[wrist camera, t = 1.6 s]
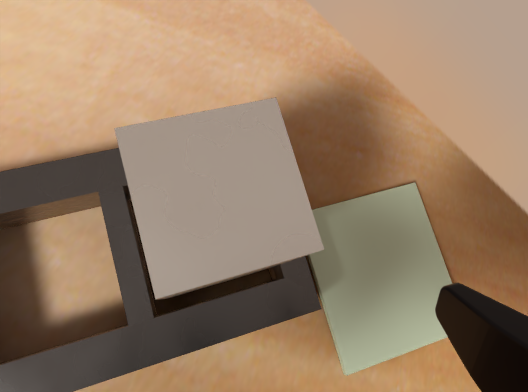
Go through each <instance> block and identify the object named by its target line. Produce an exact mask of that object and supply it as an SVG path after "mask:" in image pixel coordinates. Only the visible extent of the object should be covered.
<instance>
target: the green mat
mask: <svg viewBox="0 0 528 392" xmlns="http://www.w3.org/2000/svg"><path fill="white" fill-rule="evenodd" d="M312 212H313V215H314V218H315V222H316V225H317V228H318V231H319V234H320V237H321V241H322V244H323V247H324V250H321V251H319V252H316V253H313V254H310V255H307V256H308V260H309V263H310V266H311V269H312V273H313V276H314V279H315V282H316V286H317V289H318V292H319V295H320V299H321V302H322V305H323V308H324V311H325V315H326V318H327V321H328V324H329V328H330V331H331V334H332V337H333V341H334V344H335V347H336V350H337V354H338V357H339V360H340V363H341V366H342V370H343V373H344V374H345V375H350V374H352V373H355V372H358V371H360V370H363V369H366V368H368V367H371V366H373V365H376V364H379V363H381V362H384V361H386V360H389V359H392V358H394V357H397V356H399V355H402V354H405V353H407V352H410V351H413V350H415V349H418V348H420V347H423V346H426V345H428V344H431V343H433V342H436V341H439V340H441V339H444V338H447V337H448V336H447V335H446V333H445V331H444V329H443V328H442V326H441V324H440V322H439V321H438V319H437V316H436V313H435V307H436V303H437V300H438V296H439V293H440V290H441V288H442V287H443V286H446V285H449V284H452V281H451V279H450V276H449V273H448V270H447V268H446V265H445V262H444V260H443V257H442V254H441V251H440V249H439V246H438V243H437V240H436V238H435V235H434V232H433V229H432V227H431V224H430V221H429V219H428V216H427V213H426V210H425V208H424V205H423V202H422V199H421V197H420V194H419V191H418V189H417V186H416V183H415V182H414V183H411V184H407V185H403V186H400V187H396V188H392V189H388V190H385V191H381V192H377V193H373V194H370V195H366V196H362V197H358V198H355V199H351V200H347V201H343V202H340V203H336V204H332V205H328V206H325V207H321V208H317V209H313V210H312Z"/></svg>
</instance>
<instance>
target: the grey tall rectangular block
mask: <svg viewBox="0 0 528 392" xmlns="http://www.w3.org/2000/svg"><path fill="white" fill-rule="evenodd" d="M114 129H115V133H116V137H117V141H118V146H119V150H120V154H121V158H122V162H123V166H124V171H125V175H126V179H127V183H128V187H129V191H130V195H131V200H132V204H133V208H134V212H135V216H136V220H137V225H138V229H139V233H140V237H141V241H142V245H143V250H144V254H145V258H146V262H147V266H148V270H149V275H150V279H151V283H152V287H153V291H154V295H155V299H168V298H171V297H175V296H178V295H181V294H185V293H188V292H191V291H195V290H198V289H201V288H205V287H208V286H212V285H215V284H218V283H222V282H225V281H228V280H232V279H235V278H239V277H242V276H245V275H249V274H252V273H255V272H259V271H262V270H265V269H268V268H271V267H274V266H277V265H280V264H283V263H286V262H289V261H292V260H295V259H298V258H301V257H304V256H307V255H310V254H313V253H316V252H319V251H321V250H324V247H323V244H322V241H321V237H320V234H319V231H318V228H317V225H316V222H315V218H314V215H313V212H312V209H311V206H310V203H309V200H308V196H307V193H306V190H305V187H304V184H303V181H302V178H301V174H300V171H299V168H298V165H297V162H296V159H295V155H294V152H293V149H292V146H291V143H290V140H289V137H288V133H287V130H286V127H285V124H284V121H283V118H282V114H281V111H280V108H279V105H278V102H277V99H276V98H271V99H266V100H261V101H255V102H250V103H245V104H240V105H234V106H229V107H224V108H219V109H213V110H208V111H203V112H198V113H192V114H187V115H182V116H177V117H171V118H166V119H161V120H156V121H150V122H145V123H140V124H135V125H129V126H124V127H119V128H114Z"/></svg>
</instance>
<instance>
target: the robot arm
mask: <svg viewBox="0 0 528 392" xmlns="http://www.w3.org/2000/svg"><path fill="white" fill-rule="evenodd" d="M435 313H436V316H437V319H438V321H439V322H440V324H441V326H442V328H443V329H444V331H445V333H446V335H447V336H448V338H449V340H450V342H451V343H452V345H453V347H454V348H455V350H456V352H457V354H458V355H459V357H460V359H461V361H462V362H463V364H464V366H465V367H466V369H467V371H468V372H469V374H470V376H471V377H472V378H473V380H474V381H475V383H476V384H477V386H478V387H479V389H480V390H481V391H482V392H528V316H526V315H524V314H522V313H520V312H518V311H516V310H514V309H512V308H510V307H508V306H506V305H503V304H501V303H499V302H497V301H495V300H493V299H491V298H489V297H487V296H485V295H483V294H481V293H479V292H477V291H475V290H473V289H471V288H469V287H467V286H465V285H463V284H460V283H452V284H449V285H446V286H443V287H442V288H441V290H440V293H439V296H438V300H437V303H436V307H435Z"/></svg>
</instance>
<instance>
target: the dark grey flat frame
mask: <svg viewBox="0 0 528 392" xmlns="http://www.w3.org/2000/svg"><path fill="white" fill-rule="evenodd" d="M129 199H131V195H130V191H129V187H128V183H127V179H126V175H125V171H124V166H123V162H122V158H121V154H120V150H119V148H116V149H111V150H106V151H101V152H96V153H91V154H86V155H82V156H77V157H72V158H67V159H62V160H57V161H52V162H47V163H42V164H37V165H32V166H27V167H22V168H17V169H12V170H7V171H2V172H0V229H5V228H9V227H13V226H18V225H22V224H26V223H30V222H35V221H39V220H43V219H48V218H52V217H56V216H60V215H65V214H69V213H73V212H78V211H82V210H86V209H91V208H95V207H99V206H101V207H102V211H103V216H104V220H105V225H106V229H107V233H108V238H109V242H110V247H111V251H112V255H113V260H114V264H115V269H116V273H117V277H118V282H119V286H120V291H121V295H122V299H123V304H124V308H125V313H126V317H127V322H128V325H125V326H121V327H118V328H115V329H111V330H108V331H105V332H102V333H98V334H95V335H92V336H88V337H85V338H82V339H79V340H75V341H72V342H69V343H66V344H62V345H59V346H56V347H52V348H49V349H46V350H43V351H39V352H36V353H33V354H29V355H26V356H23V357H20V358H16V359H13V360H10V361H6V362H3V363H0V392H73V391H76V390H79V389H82V388H85V387H88V386H91V385H94V384H97V383H100V382H103V381H106V380H109V379H112V378H115V377H118V376H121V375H124V374H127V373H130V372H133V371H136V370H139V369H142V368H145V367H148V366H151V365H154V364H157V363H160V362H163V361H166V360H169V359H172V358H175V357H178V356H181V355H184V354H187V353H190V352H193V351H196V350H199V349H202V348H205V347H208V346H211V345H214V344H217V343H220V342H223V341H226V340H229V339H232V338H235V337H238V336H241V335H244V334H247V333H250V332H253V331H256V330H259V329H262V328H265V327H268V326H271V325H274V324H277V323H280V322H283V321H286V320H289V319H292V318H295V317H298V316H301V315H304V314H307V313H310V312H313V311H316V310H319V309H321V306H320V303H319V299H318V296H317V293H316V290H315V286H314V283H313V280H312V277H311V273H310V270H309V267H308V264H307V260H306V257H305V256H304V257H301V258H298V259H295V260H292V261H289V262H286V263H283V264H280V265H277V266H274V267H271V268H269V272H270V275H271V279H272V281H269V282H266V283H262V284H259V285H256V286H252V287H249V288H246V289H243V290H239V291H236V292H233V293H230V294H226V295H223V296H220V297H216V298H213V299H210V300H207V301H203V302H200V303H197V304H193V305H190V306H187V307H184V308H180V309H177V310H174V311H170V312H167V313H164V314H161V315H157V313H156V309H155V304H154V300H153V296H152V292H151V288H150V283H149V279H148V275H147V271H146V267H145V263H144V258H143V254H142V250H141V246H140V242H139V238H138V233H137V229H136V225H135V221H134V217H133V213H132V208H131V204H130V200H129Z"/></svg>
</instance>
